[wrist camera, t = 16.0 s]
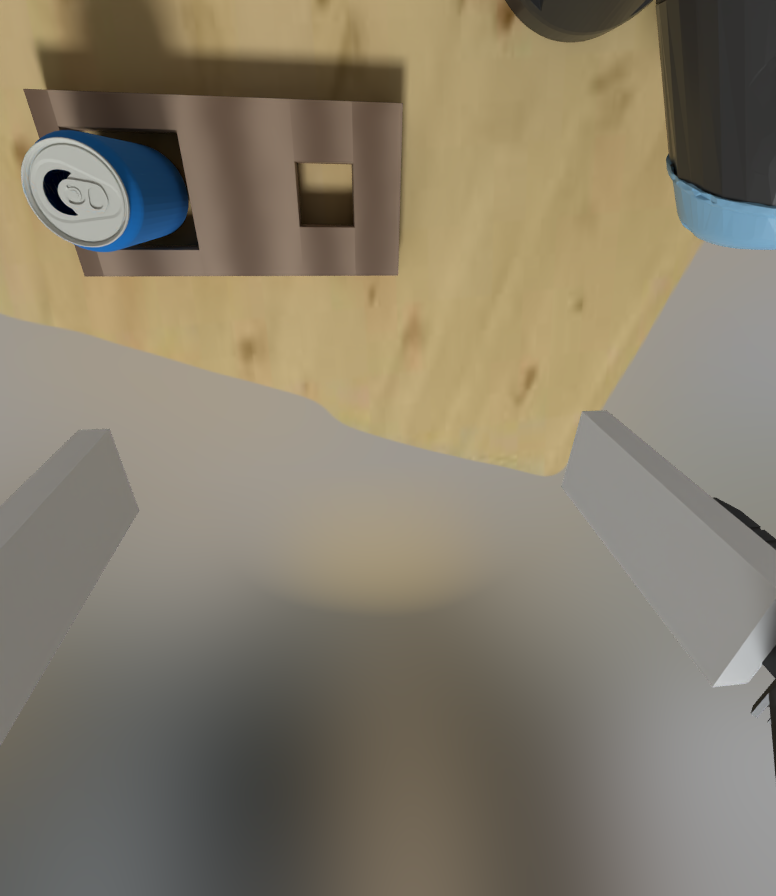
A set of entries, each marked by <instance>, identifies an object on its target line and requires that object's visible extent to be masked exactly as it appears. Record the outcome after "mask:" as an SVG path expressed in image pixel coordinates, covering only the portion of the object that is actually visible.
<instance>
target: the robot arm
mask: <svg viewBox="0 0 776 896" xmlns="http://www.w3.org/2000/svg"><path fill="white" fill-rule="evenodd" d="M505 1H506V2H507V4H508V5H509V7H510V8H511V10H512V11H513V12H514V14H515V15H516V16H517V17H518V18H519V19H520V20H521V21H522V22H523V23H524V24H525V25H526V26H527V27H528V28H530V29H531V30H533V31H534V32H536V33H537V34H539V35H541V36H543V37H545V38H548V39H551V40H555V41H560V42H580V41H585V40H589V39H593V38H596V37H598V36H601V35H603V34H605V33H607V32H609V31H611V30H612V29H614V28H616V27H618V26H620V25H621V24H623V23H625V22H626V21H628V20H630V19H631V18H633V17H634V16H635V15H637V14H638V13H639V12H640V11H642V10H643V9H644V8H645V7H646V6H647V5H649V4H650V3H651V2H652V1H653V0H505ZM658 3H659V4H658ZM656 4H657V5H656V14H657V26H658V37H659V48H660V60H661V71H662V82H663V94H664V105H665V116H666V128H667V139H668V150H669V154H668V156H667V158H666V163H667V171H668V174H669V176H670V177H671V179H672V180H673V186H674V192H675V199H676V206H677V213H678V216H679V219H680V221H681V223H682V224H683V226H684V227H686V228H687V229H688V230H690V231H691V232H692V233H693V234H694V235H695V236H696V237H698V238H699V239H701V240H704V241H707V242H709V243H712V244H716V245H720V246H724V247H730V248H739V249H754V250H775V249H776V0H656ZM561 487H562V489H563V490H564V491H565V493H566V494H567V495H568V497H569V498H570V499H571V501H572V502H573V503H574V505H575V506H576V507H577V509H578V510H579V511H580V512H581V514H582V515H583V516H584V518H585V519H586V520H587V522H588V523H589V524H590V526H591V527H592V528H593V530H594V531H595V532H596V534H597V535H598V536H599V538H600V539H601V540H602V542H603V543H604V544H605V546H606V547H607V548H608V550H609V551H610V552H611V554H612V555H613V556H614V557H615V559H616V560H617V561H618V563H619V564H620V566H621V567H622V568H623V569H624V571H625V572H626V573H627V575H628V576H629V577H630V579H631V580H632V581H633V583H634V584H635V585H636V587H637V588H638V589H639V591H640V592H641V593H642V595H643V596H644V597H645V598H646V600H647V601H648V603H649V604H650V605H651V606H652V608H653V609H654V610H655V612H656V613H657V614H658V616H659V617H660V618H661V620H662V621H663V622H664V623H665V625H666V626H667V627H668V629H669V630H670V632H671V633H672V634H673V636H674V637H675V638H676V640H677V641H678V642H679V644H680V645H681V646H682V648H683V649H684V650H685V652H686V653H687V654H688V655H689V657H690V658H691V659H692V661H693V662H694V663H695V665H696V666H697V667H698V669H699V670H700V671H701V673H702V674H703V675H704V677H705V678H706V679H707V681H708V682H709V683H710V685H711V686H712V687H717V686H727V685H736V684H745V683H748V682H749V681H750V680H751V678H752V677H753V676H754V675H755V673H756V672H757V671H758V669H759V668H760V667H761V666H762V664H763V665H764V666H765V667H766V668H767V670H768V671H769V672H770V673H771V674H772V675H773V676H774V677H775V678H776V539H775V538H774V537H773V536H771V535H770V534H769V533H767V532H766V531H765V530H761V529H760V526H759V525H758V524H756V523H755V522H754V521H753V520H751V519H750V518H749V517H748V516H746V515H745V514H744V513H743V512H741V511H740V510H738V509H736V508H734V507H732V506H731V505H729V504H727V503H725V502H723V501H721V500H719V499H717V498H712V497H711V496H710V495H708V494H707V493H706V492H705V491H704V490H702V489H701V488H700V487H699V486H698V485H696V484H695V483H694V482H693V481H692V480H690V479H689V478H688V477H687V476H685V475H684V474H683V473H682V472H681V471H679V470H678V469H677V468H676V467H675V466H673V465H672V464H671V463H670V462H668V461H667V460H666V459H665V458H664V457H662V456H661V455H660V454H659V453H658V452H656V451H655V450H654V449H653V448H652V447H650V446H649V445H648V444H647V443H645V442H644V441H643V440H642V439H641V438H639V437H638V436H637V435H636V434H635V433H633V432H632V431H631V430H630V429H629V428H627V427H626V426H625V425H624V424H623V423H621V422H620V421H619V420H618V419H616V418H615V417H614V416H613V415H612V414H610V413H609V412H608V411H582V414H581V417H580V421H579V425H578V428H577V432H576V435H575V439H574V443H573V446H572V450H571V453H570V457H569V461H568V464H567V468H566V472H565V475H564V479H563V483H562V486H561ZM138 512H139V508H138V505H137V503H136V500H135V497H134V495H133V492H132V489H131V486H130V484H129V481H128V478H127V475H126V472H125V470H124V467H123V464H122V461H121V459H120V456H119V453H118V450H117V448H116V445H115V443H114V439H113V437H112V434H111V431H110V429H92V430H78V431H77V432H76V433H75V434H74V435H73V436H72V437H71V438H70V439H69V440H68V441H67V442H66V443H65V444H64V445H63V446H62V447H61V448H60V449H58V451H56V452H55V453H54V454H53V455H52V456H51V457H50V458H49V459H48V460H47V461H46V462H45V463H44V464H43V465H42V466H41V467H40V468H39V469H38V470H37V471H36V472H35V473H34V474H33V475H32V476H31V477H30V478H29V479H28V480H27V481H26V482H25V483H24V484H23V485H21V487H19V488H18V490H16V491H15V492H14V493H13V494H12V495H11V496H10V497H9V498H8V499H7V500H6V501H5V502H4V503H3V504H2V505H1V506H0V745H1V744H2V742H3V740H4V738H5V737H6V735H7V734H8V732H9V730H10V728H11V727H12V725H13V724H14V722H15V720H16V718H17V717H18V715H19V713H20V712H21V710H22V708H23V707H24V705H25V703H26V701H27V700H28V698H29V696H30V695H31V693H32V691H33V690H34V688H35V686H36V685H37V683H38V681H39V679H40V678H41V676H42V674H43V672H44V671H45V669H46V668H47V666H48V664H49V663H50V661H51V659H52V657H53V656H54V654H55V652H56V651H57V649H58V647H59V645H60V644H61V642H62V640H63V639H64V637H65V635H66V634H67V632H68V630H69V629H70V627H71V625H72V624H73V622H74V620H75V618H76V617H77V615H78V613H79V611H80V610H81V608H82V607H83V605H84V603H85V601H86V600H87V598H88V596H89V595H90V593H91V591H92V590H93V588H94V586H95V585H96V583H97V581H98V579H99V578H100V576H101V574H102V573H103V571H104V569H105V567H106V566H107V564H108V562H109V561H110V559H111V557H112V556H113V554H114V552H115V551H116V549H117V547H118V546H119V544H120V542H121V540H122V539H123V537H124V535H125V534H126V532H127V530H128V529H129V527H130V525H131V523H132V522H133V520H134V518H135V517H136V515H137V513H138ZM766 707H770V716H771V718H770V719H769V720H768V723H770V724H771V728H772V740H773V752H774V763H775V776H776V679H775V680H774V681H773V682H772V684H771V685H770V686H769V687H768V689H766V691H765V692H764V693H763V694H762V696H761V697H760V698H759V699H758V700H757V701H756V703H755V704H754V705H753V707H752V711H751V715H753V716H755V717H757V718H758V716H759V715H760V714H761V713H762V712H763V711H764V709H765V708H766Z"/></svg>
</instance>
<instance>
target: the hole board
mask: <svg viewBox="0 0 776 896" xmlns="http://www.w3.org/2000/svg"><path fill="white" fill-rule="evenodd" d="M24 92H25V96H26V99H27V102H28V105H29V108H30V111H31V114H32V117H33V120H34V123H35V126H36V129H37V132H38V135H39V138H41V137H43V136H45V135H46V134H48V133H51V132H54V131H59V130H74V131H110V132H144V133H177V135H178V141H179V146H180V151H181V156H182V161H183V167H184V172H185V177H186V182H187V187H188V192H189V198H190V203H191V208H192V213H193V218H194V224H195V229H196V234H197V239H198V244H199V246H151V245H133V246H130V247H127V248H124V249H120V250H117V251H112V252H95V251H91V250H87V249H84V248H81V247H79V246H76V245H75V248H76V251H77V254H78V257H79V260H80V263H81V266H82V269H83V272H84V275H85V276H370V275H398V261H399V223H400V185H401V147H402V109H403V103H382V102H356V101H329V100H303V99H276V98H250V97H224V96H197V95H171V94H144V93H118V92H92V91H65V90H39V89H24ZM297 163H321V164H352V198H353V225H330V224H302V221H301V208H300V195H299V182H298V169H297Z"/></svg>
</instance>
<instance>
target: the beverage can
mask: <svg viewBox="0 0 776 896" xmlns="http://www.w3.org/2000/svg"><path fill="white" fill-rule="evenodd" d="M21 181H22V187H23V190H24V194H25V196H26V199H27V201H28V203H29V205H30V207H31V208H32V210H33V211H34V213H35V214H36V216H37V217H38V218H39V219H40V221H41V222H42V223H43V224H44V225H45V226H46V227H47V228H48V229H50V230H51V231H52V232H53V233H55V234H56V235H57V236H59V237H61V238H62V239H64V240H66V241H68V242H70V243H72V244H74V245H76V246H79V247H81V248H84V249H87V250H91V251H95V252H112V251H117V250H120V249H124V248H127V247H130V246H133V245H137V244H140V243H143V242H147V241H150V240H153V239H156V238H160V237H163V236H166V235H169V234H171V233H173V232H175V231H176V230H177V229H178V228H179V227H180V226H181V225H182V224H183V222H184V220H185V218H186V215H187V212H188V193H187V189H186V186H185V183H184V181H183V178H182V176H181V175H180V173H179V171H178V170H177V168H176V167H175V166H174V165H173V163H172V162H171V161H170V160H169V159H168V158H167V157H165V156H164V155H163V154H161V153H160V152H159V151H157V150H155V149H153V148H151V147H148V146H145V145H142V144H137V143H132V142H127V141H123V140H118V139H113V138H108V137H104V136H99V135H94V134H89V133H85V132H80V131H74V130H59V131H54V132H51V133H48V134H46V135H45V136H43V137H41V138H40V139H39V140H38V141H37V142H36V143H35V144H34V145H33V146H32V147H31V148H30V149H29V150H28V152H27V153H26V155H25V157H24V159H23V163H22V168H21Z"/></svg>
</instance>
